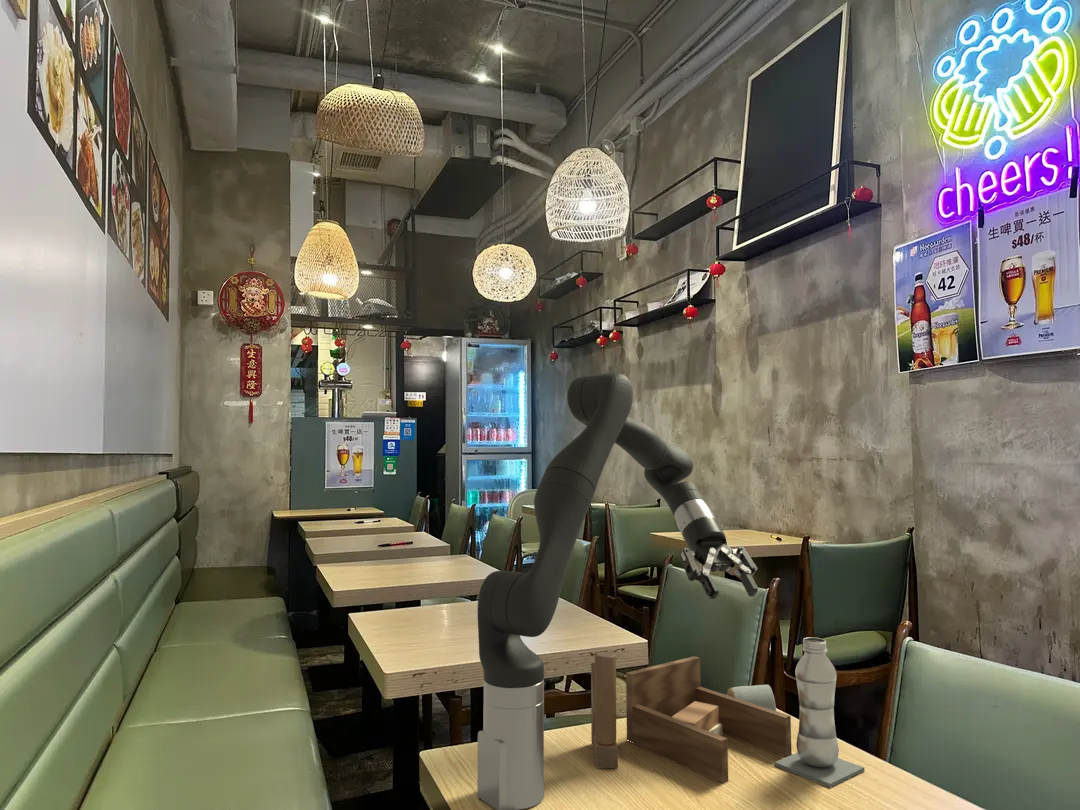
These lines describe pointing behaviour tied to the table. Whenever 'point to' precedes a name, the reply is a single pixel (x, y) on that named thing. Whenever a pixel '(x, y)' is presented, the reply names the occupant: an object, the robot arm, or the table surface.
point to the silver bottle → (816, 705)
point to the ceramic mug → (754, 695)
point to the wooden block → (604, 710)
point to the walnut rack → (697, 749)
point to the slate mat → (820, 770)
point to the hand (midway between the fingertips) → (735, 595)
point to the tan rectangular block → (701, 716)
